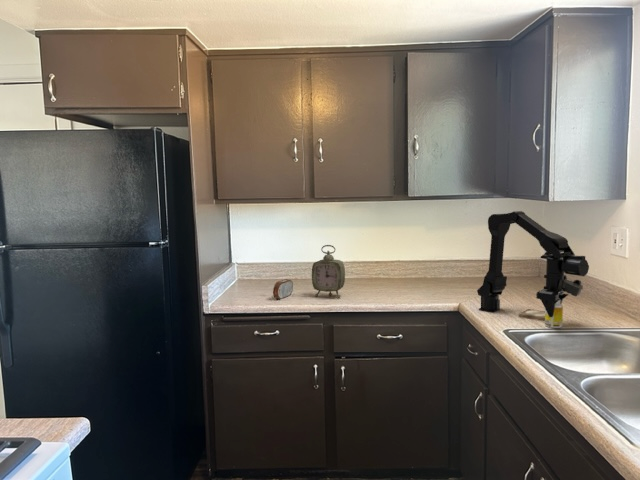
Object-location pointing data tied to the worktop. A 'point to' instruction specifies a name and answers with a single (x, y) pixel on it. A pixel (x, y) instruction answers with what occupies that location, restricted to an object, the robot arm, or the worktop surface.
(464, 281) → the worktop surface
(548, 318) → the supplement bottle
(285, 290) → the tin
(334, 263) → the tabletop clock
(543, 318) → the walnut board
